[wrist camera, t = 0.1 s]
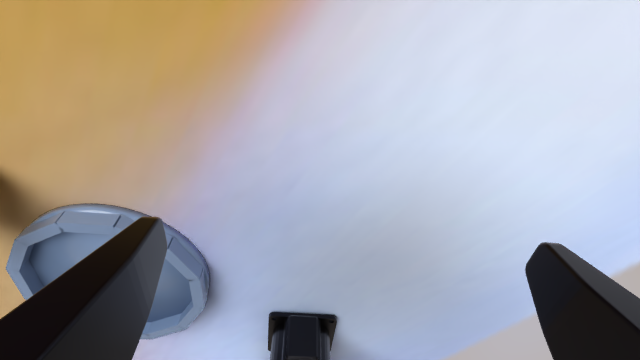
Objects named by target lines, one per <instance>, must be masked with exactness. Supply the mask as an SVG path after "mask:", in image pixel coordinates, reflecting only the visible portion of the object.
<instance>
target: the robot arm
mask: <svg viewBox="0 0 640 360" xmlns="http://www.w3.org/2000/svg"><path fill="white" fill-rule="evenodd" d="M166 253H167V239H166V234H165V230H164V225H163V221H162V219H161V218H159V217H146V216H144V217H141V218H139V219H137V220H136V221H135V222H133V223H132V224H131V225H129V226H128V227H126V228H125V229H124V230H122V231H121V232H120V233H118V234H117V235H115V236H114V237H113V238H111V239H110V240H108V241H107V242H106V243H104V244H103V245H102V246H100V247H99V248H97V249H96V250H95V251H93V252H92V253H91V254H89V255H88V256H86V257H85V258H84V259H82V260H81V261H80V262H78V263H77V264H75V265H74V266H73V267H71V268H70V269H69V270H67V271H66V272H64V273H63V274H62V275H60V276H59V277H58V278H56V279H55V280H53V281H52V282H51V283H49V284H48V285H47V286H45V287H44V288H42V289H41V290H40V291H38V292H37V293H35V294H34V295H33V296H31V297H30V298H29V299H27V300H26V301H24V302H23V303H22V304H20V305H19V306H18V307H16V308H15V309H13V310H12V311H11V312H9V313H8V314H7V315H5V316H4V317H2V318H1V319H0V360H132V358H133V355H134V353H135V350H136V348H137V345H138V343H139V340H140V338H141V335H142V333H143V330H144V328H145V325H146V322H147V320H148V317H149V314H150V311H151V308H152V304H153V301H154V297H155V293H156V290H157V286H158V282H159V279H160V275H161V271H162V268H163V264H164V260H165V256H166ZM525 271H526V277H527V280H528V284H529V287H530V290H531V294H532V297H533V301H534V304H535V308H536V311H537V315H538V318H539V322H540V325H541V328H542V331H543V334H544V337H545V339H546V342H547V345H548V347H549V349H550V352H551V354H552V357H553V359H554V360H640V299H639V298H638V297H637V296H635V295H634V294H632V293H631V292H629V291H628V290H627V289H625V288H624V287H622V286H621V285H619V284H618V283H616V282H615V281H614V280H612V279H611V278H609V277H608V276H606V275H605V274H603V273H602V272H601V271H599V270H598V269H596V268H595V267H593V266H592V265H591V264H589V263H588V262H586V261H585V260H583V259H582V258H580V257H579V256H578V255H576V254H575V253H573V252H572V251H570V250H569V249H567V248H566V247H565V246H563V245H561V244H559V243H547V242H544V243H541V244H540V245H539V246H538V247H537V248H536V250H535V252H534V253H533V255H532V256H531V258H530V259H529V261H528V262H527V264H526V269H525ZM336 322H337V320H336V316H334V315H320V314H300V313H280V312H272V313H270V314H269V330H268V350H269V351H271V354H270V360H330V350H331V345H332V341H333V336H334V332H335V327H336Z"/></svg>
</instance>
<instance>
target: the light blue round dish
mask: <svg viewBox="0 0 640 360" xmlns="http://www.w3.org/2000/svg"><path fill="white" fill-rule="evenodd" d="M144 216H146V217H151V216H148V215H145V214H143V213H140V212H137V211H134V210H130V209H127V208H122V207H117V206H112V205H104V204H73V205H67V206H62V207H58V208H55V209H53V210H50V211H48V212H46V213H44V214H42V215H40V216H39V217H38V218H37V219H35V220H34V221H33V222H32V223H31V224H30V225H29V226H28V227H26V228H25V229H24V230H23V231H22V232H21V233H20V234H19V236H18V237H17V238H16V239H15V240H14V243H13V247H12V250H11V253H10V256H9V259H8V263H7V266H6V270H7V272H8V274H9V275H10V277H11V278H12V280H13V281H14V283H15V285H16V286H17V288H18V289H19V291H20V293H21V294H22V296H23V297H24V299H26V300H27V299H29V298H30V297H31V296H33V295H34V294H35V293H37V292H38V291H40V290H41V289H42V288H44V287H45V286H47V285H48V284H49V283H51V282H52V281H53V280H55V279H56V278H58V277H59V276H60V275H62V274H63V273H64V272H66V271H67V270H69V269H70V268H71V267H73V266H74V265H75V264H77V263H78V262H80V261H81V260H82V259H84V258H85V257H86V256H88V255H89V254H91V253H92V252H93V251H95V250H96V249H97V248H99V247H100V246H102V245H103V244H104V243H106V242H107V241H108V240H110V239H111V238H113V237H114V236H115V235H117V234H118V233H120V232H121V231H122V230H124V229H125V228H126V227H128V226H129V225H131V224H132V223H133V222H135V221H136V220H137V219H139V218H141V217H144ZM163 225H164V230H165V234H166V239H167V253H166V256H165V260H164V264H163V268H162V271H161V275H160V279H159V282H158V286H157V290H156V293H155V297H154V301H153V304H152V308H151V311H150V314H149V317H148V320H147V322H146V325H145V328H144V330H143V333H142V335H141V338H140V339H155V338H158V337H162V336H165V335H169V334H172V333H176V332H179V331H183V330H185V329H187V328H188V327H189V325H190V324H191V323H192V322H193V321H194V320H195V319H196V317H197V316H198V315H199V314H200V313H201V312H202V311H203V310H204V307H205V304H206V300H207V297H208V295H207V293H208V289H209V284H210V274H209V270H208V267H207V264H206V262H205V260H204V258H203V257H202V255H201V253H200V252H199V251H198V250H197V248H196V247H195V246H194V245H193V244H192V243H191V242H190V241H189V240H188V239H187V238H186V237H185V236H183V235H182V234H180V233H179V232H178V231H176V230H175V229H173V228H172V227H170V226H168V225H167V224H165V223H163Z"/></svg>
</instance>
